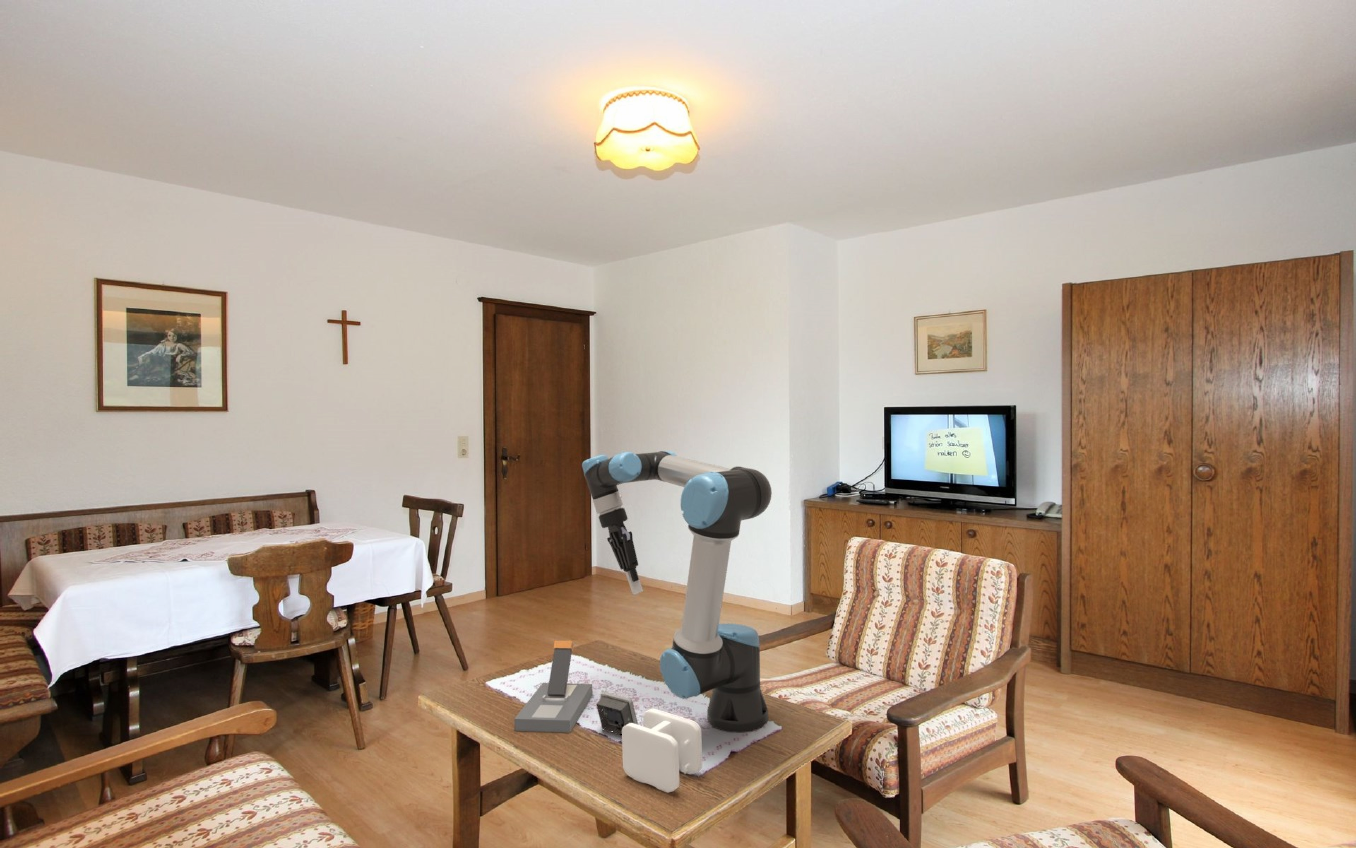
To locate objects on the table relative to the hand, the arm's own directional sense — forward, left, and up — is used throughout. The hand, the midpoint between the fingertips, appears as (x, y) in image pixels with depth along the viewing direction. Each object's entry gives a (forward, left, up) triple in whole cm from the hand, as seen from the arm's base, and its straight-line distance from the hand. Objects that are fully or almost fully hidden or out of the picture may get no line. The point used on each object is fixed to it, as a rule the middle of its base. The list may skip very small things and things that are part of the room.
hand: (638, 592), depth 192 cm
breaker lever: (0, +24, -24) cm, 33 cm away
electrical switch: (-19, +13, -28) cm, 36 cm away
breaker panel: (-1, +24, -28) cm, 37 cm away
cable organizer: (-42, +11, -28) cm, 52 cm away
